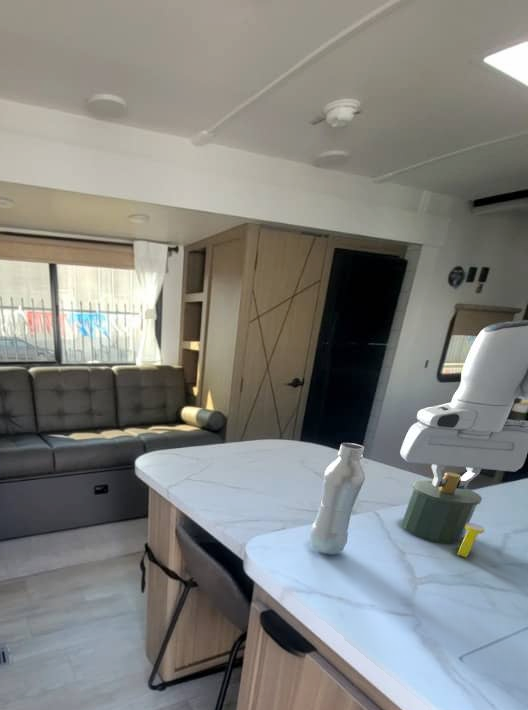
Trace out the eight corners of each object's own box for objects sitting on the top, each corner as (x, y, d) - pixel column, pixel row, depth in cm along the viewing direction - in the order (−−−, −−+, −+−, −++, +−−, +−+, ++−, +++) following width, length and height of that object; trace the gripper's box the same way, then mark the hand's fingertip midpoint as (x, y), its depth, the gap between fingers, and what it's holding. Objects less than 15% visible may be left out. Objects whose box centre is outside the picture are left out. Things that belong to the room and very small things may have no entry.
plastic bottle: (308, 555, 74) (335, 449, 65) (304, 538, 80) (328, 439, 71) (346, 561, 72) (379, 453, 64) (339, 543, 78) (368, 442, 70)
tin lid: (461, 489, 86) (469, 468, 84) (492, 511, 76) (503, 488, 73) (403, 483, 87) (410, 462, 85) (425, 504, 77) (434, 481, 75)
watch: (457, 545, 79) (469, 518, 77) (474, 551, 78) (487, 523, 75) (451, 556, 76) (463, 528, 73) (468, 562, 74) (482, 534, 71)
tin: (446, 522, 89) (460, 487, 85) (471, 546, 79) (489, 507, 76) (394, 517, 90) (406, 482, 87) (413, 539, 81) (427, 501, 77)
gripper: (527, 418, 76) (496, 486, 82) (409, 409, 79) (388, 476, 85) (551, 425, 70) (516, 498, 76) (423, 416, 73) (399, 487, 79)
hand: (448, 486), depth 81 cm, fingers closed on tin lid, 2 cm apart
